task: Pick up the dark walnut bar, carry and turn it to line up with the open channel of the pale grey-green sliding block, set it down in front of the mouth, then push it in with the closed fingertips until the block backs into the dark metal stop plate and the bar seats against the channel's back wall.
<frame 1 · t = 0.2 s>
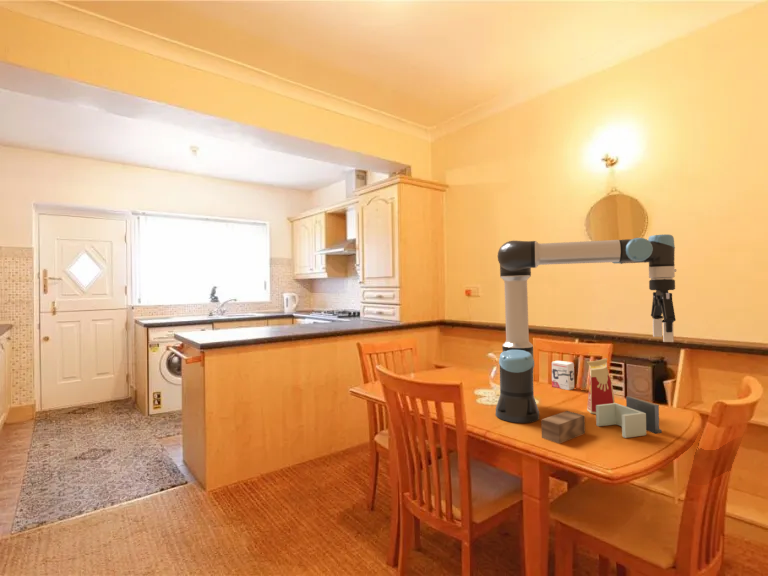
hand: (662, 339, 143), 28 cm above the table, fingers open, 13 cm apart
stop plate: (642, 427, 134), on the table
socket block: (620, 419, 132), point 4 cm above the table, slide at 0.0 cm
walnut bar: (563, 436, 129), on the table
ink box: (563, 388, 187), on the table
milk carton: (600, 411, 152), on the table
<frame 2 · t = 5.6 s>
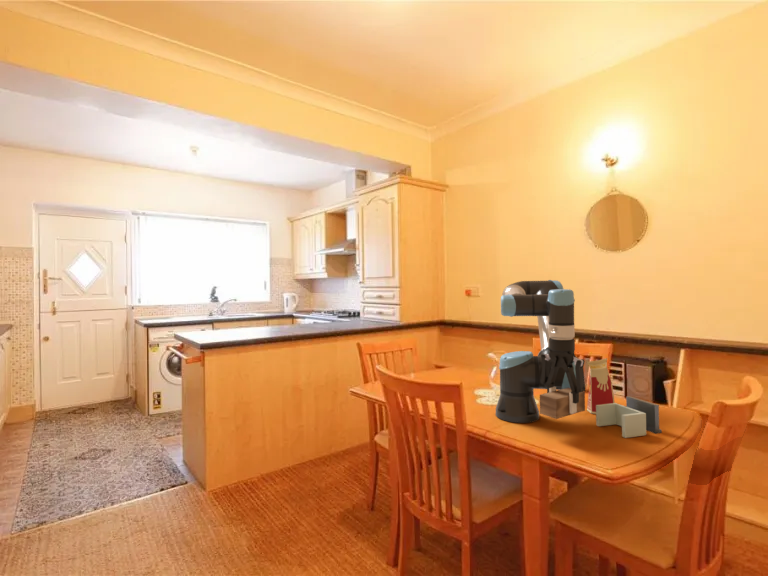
hand: (562, 409, 129), 8 cm above the table, fingers closed on walnut bar, 6 cm apart
walnut bar: (562, 411, 129), point 7 cm above the table, touching gripper
everything else where it was.
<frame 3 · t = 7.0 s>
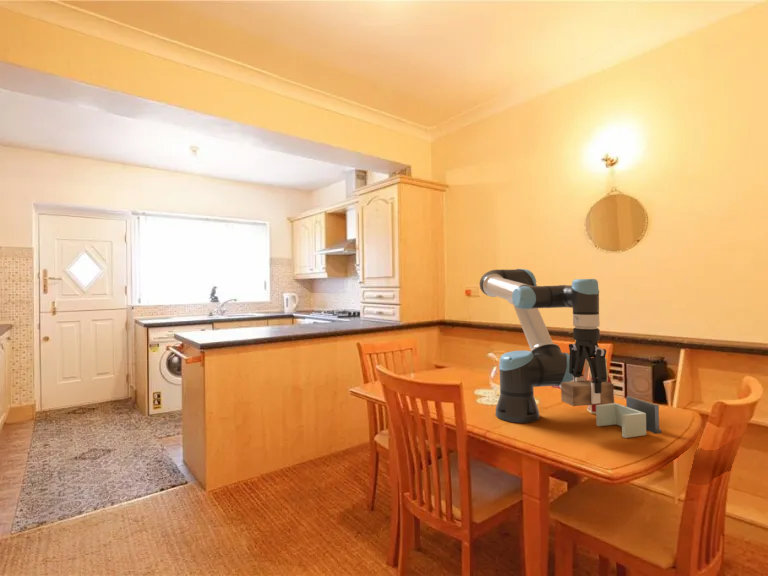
hand: (587, 400, 128), 11 cm above the table, fingers closed on walnut bar, 6 cm apart
walnut bar: (587, 401, 128), point 11 cm above the table, touching gripper
everything else where it was.
when the fingers open (0 cm above the table, at t = 8.5 s): walnut bar stays where it is, on the table.
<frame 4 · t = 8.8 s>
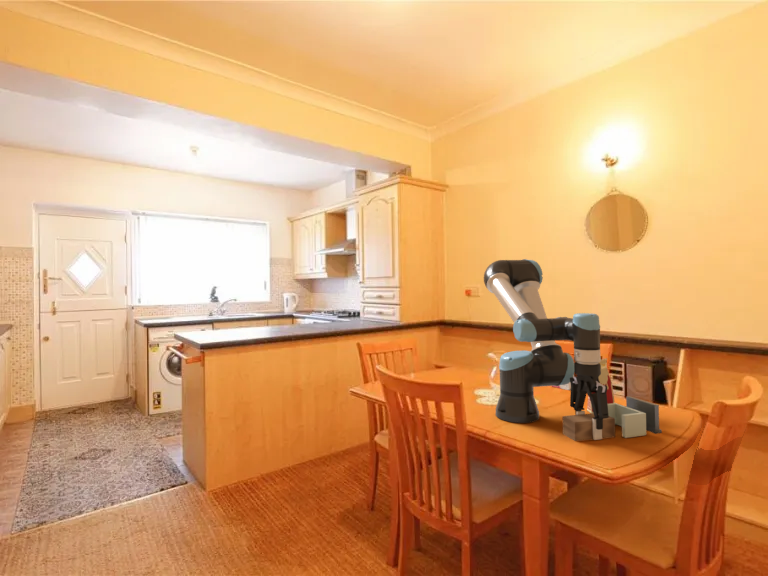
hand: (589, 434, 128), 0 cm above the table, fingers open, 6 cm apart
walnut bar: (588, 436, 128), on the table
everything else where it was.
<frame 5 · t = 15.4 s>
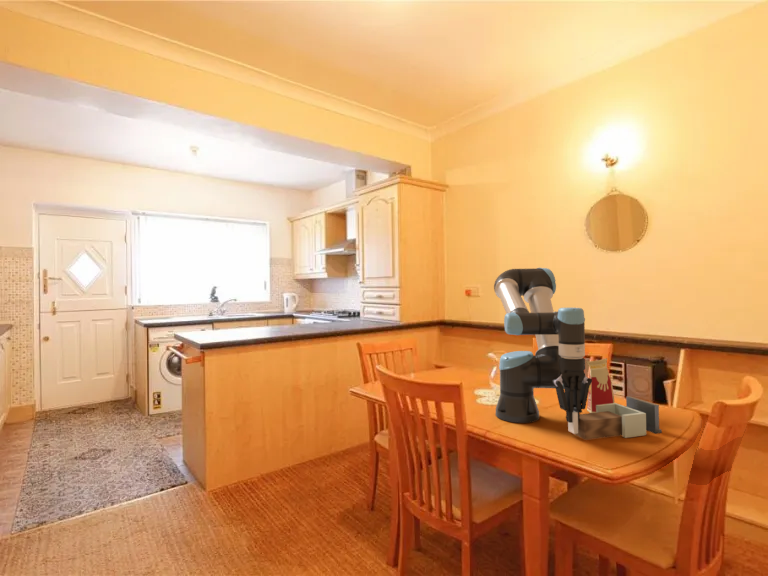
hand: (573, 432, 127), 2 cm above the table, fingers closed
walnut bar: (597, 434, 129), on the table
everything else where it was.
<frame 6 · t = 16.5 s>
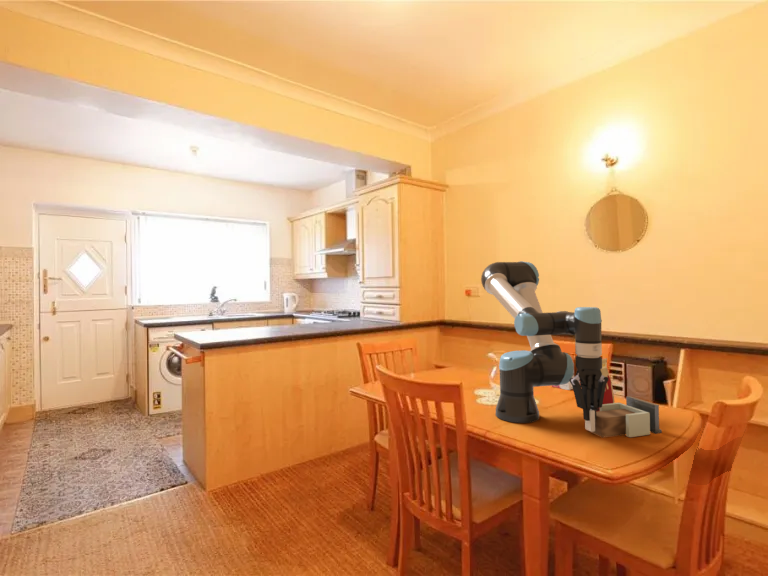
hand: (590, 430, 129), 2 cm above the table, fingers closed
socket block: (623, 419, 132), point 4 cm above the table, slide at 1.5 cm
walnut bar: (613, 431, 131), on the table, touching gripper
everything else where it was.
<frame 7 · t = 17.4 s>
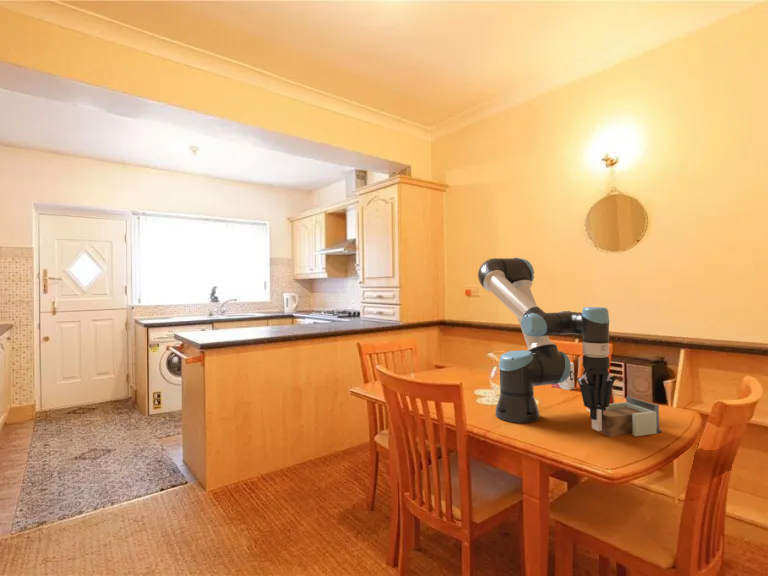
hand: (596, 429, 129), 2 cm above the table, fingers closed
socket block: (630, 418, 133), point 4 cm above the table, slide at 4.0 cm, touching stop plate, walnut bar
walnut bar: (620, 430, 132), on the table, touching gripper, socket block
everything else where it was.
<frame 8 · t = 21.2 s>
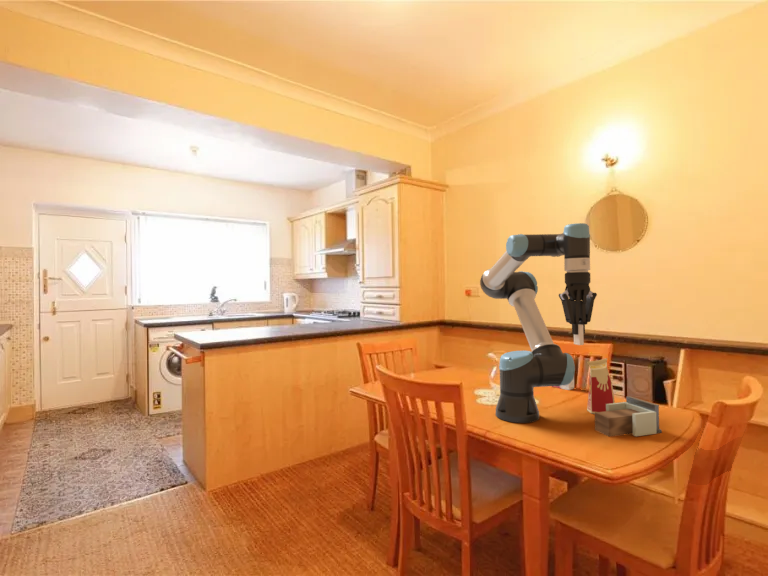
hand: (578, 344, 131), 28 cm above the table, fingers closed
socket block: (630, 418, 133), point 4 cm above the table, slide at 4.0 cm, touching stop plate
walnut bar: (620, 431, 131), on the table
everything else where it was.
at the end: walnut bar 0.3 cm from the target spot on the socket block, point 0.0 cm above the socket block's base; socket block slide at 4.0 cm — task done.
